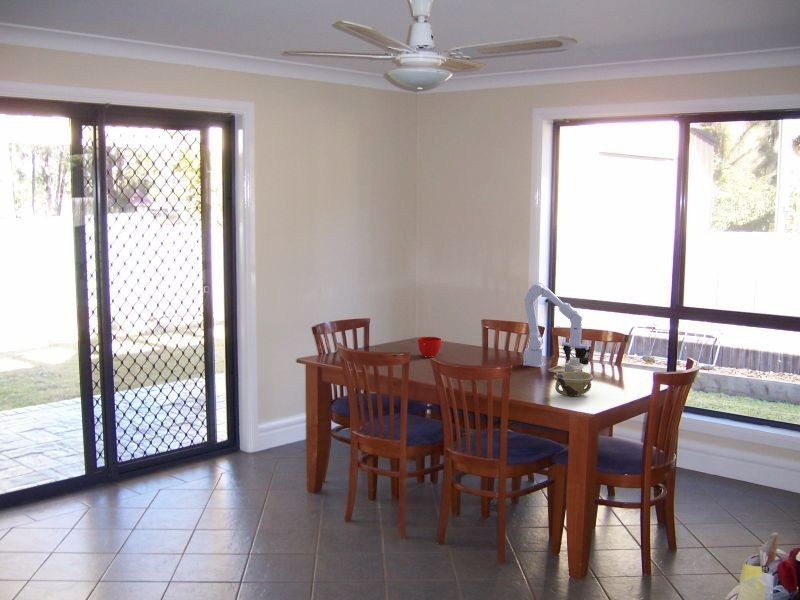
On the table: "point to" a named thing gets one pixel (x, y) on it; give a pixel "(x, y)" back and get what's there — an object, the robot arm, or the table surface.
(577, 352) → the coffee mug
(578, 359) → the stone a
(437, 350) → the ceramic cup
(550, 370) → the tray
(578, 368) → the dish
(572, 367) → the stone
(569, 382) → the bowl
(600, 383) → the table surface
